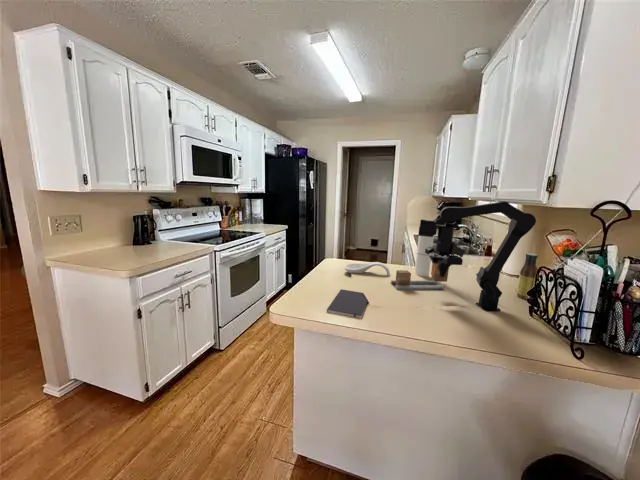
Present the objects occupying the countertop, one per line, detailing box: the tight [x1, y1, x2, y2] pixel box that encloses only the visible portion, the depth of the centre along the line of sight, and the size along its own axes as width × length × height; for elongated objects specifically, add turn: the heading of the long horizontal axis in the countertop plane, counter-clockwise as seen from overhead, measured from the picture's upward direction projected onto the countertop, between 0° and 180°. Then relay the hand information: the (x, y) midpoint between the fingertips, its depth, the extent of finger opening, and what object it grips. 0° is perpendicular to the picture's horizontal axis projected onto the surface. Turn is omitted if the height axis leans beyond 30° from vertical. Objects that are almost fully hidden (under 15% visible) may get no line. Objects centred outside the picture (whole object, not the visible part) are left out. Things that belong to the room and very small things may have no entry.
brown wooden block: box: [430, 263, 450, 283], centre depth 114 cm, size 3×6×7 cm, turn 96°
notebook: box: [326, 288, 369, 319], centre depth 108 cm, size 13×2×21 cm
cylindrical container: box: [414, 235, 435, 277], centre depth 143 cm, size 7×7×25 cm
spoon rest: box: [343, 261, 391, 277], centre depth 144 cm, size 24×12×7 cm, turn 76°
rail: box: [389, 279, 446, 292], centre depth 126 cm, size 10×22×3 cm, turn 96°
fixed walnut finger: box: [395, 269, 412, 285], centre depth 125 cm, size 3×6×7 cm, turn 96°
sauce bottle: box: [516, 252, 539, 300], centre depth 121 cm, size 6×6×20 cm
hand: (439, 275), depth 114 cm, fingers closed on brown wooden block, 3 cm apart
